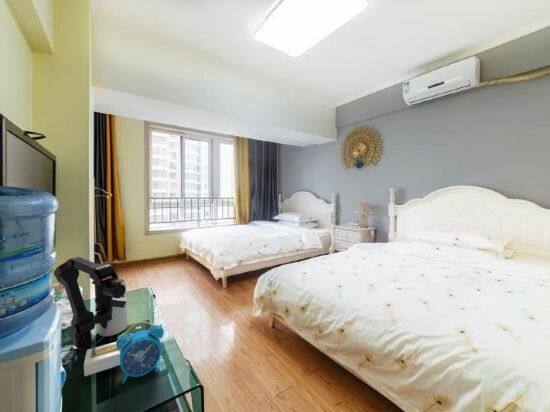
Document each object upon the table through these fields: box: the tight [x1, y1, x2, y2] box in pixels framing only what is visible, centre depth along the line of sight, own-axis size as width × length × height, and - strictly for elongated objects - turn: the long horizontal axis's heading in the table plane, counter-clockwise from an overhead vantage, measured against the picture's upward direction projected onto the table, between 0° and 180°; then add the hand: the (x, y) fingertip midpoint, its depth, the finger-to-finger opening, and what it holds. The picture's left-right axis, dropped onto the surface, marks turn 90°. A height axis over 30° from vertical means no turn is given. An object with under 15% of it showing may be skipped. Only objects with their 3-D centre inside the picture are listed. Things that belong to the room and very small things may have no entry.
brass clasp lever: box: [96, 344, 117, 356], centre depth 103 cm, size 10×3×1 cm, turn 122°
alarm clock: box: [115, 320, 165, 385], centre depth 96 cm, size 17×10×20 cm, turn 120°
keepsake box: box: [83, 341, 121, 377], centre depth 102 cm, size 15×10×7 cm
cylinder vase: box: [97, 278, 128, 337], centre depth 125 cm, size 12×12×25 cm
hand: (105, 328), depth 106 cm, fingers closed
